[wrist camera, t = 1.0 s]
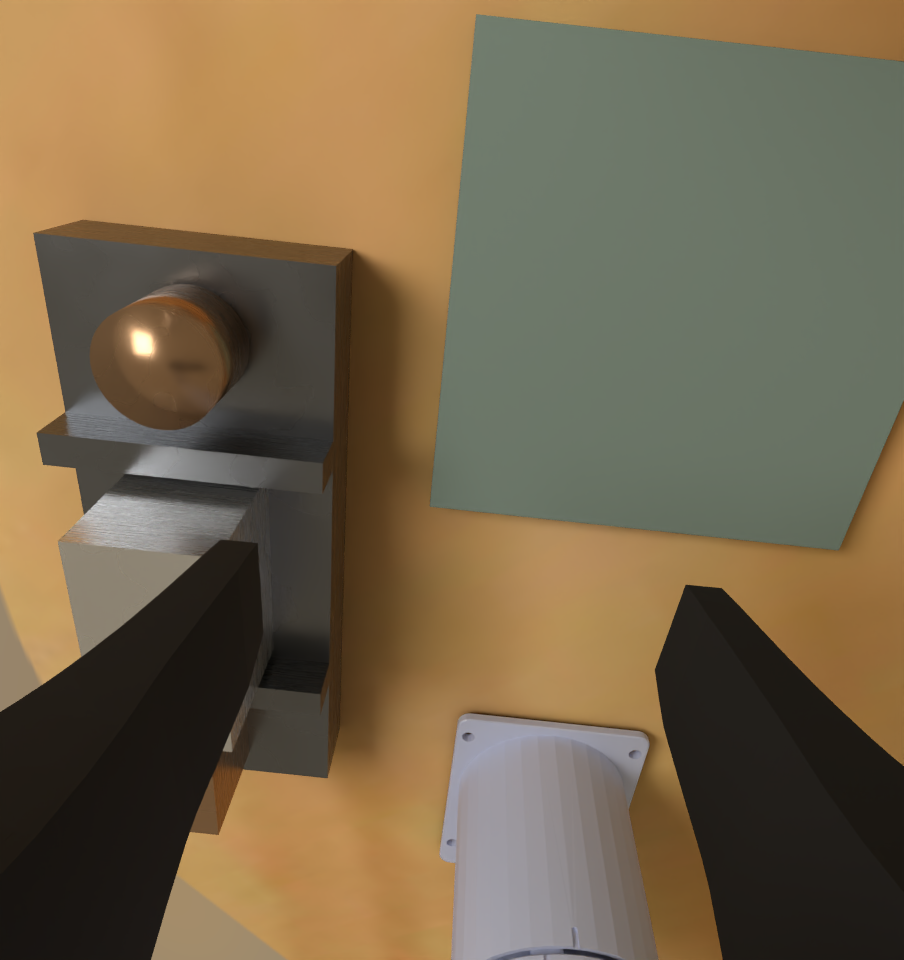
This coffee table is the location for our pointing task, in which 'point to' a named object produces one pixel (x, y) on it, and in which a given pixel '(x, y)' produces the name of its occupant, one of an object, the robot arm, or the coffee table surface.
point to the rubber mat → (673, 284)
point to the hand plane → (220, 430)
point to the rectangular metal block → (160, 554)
